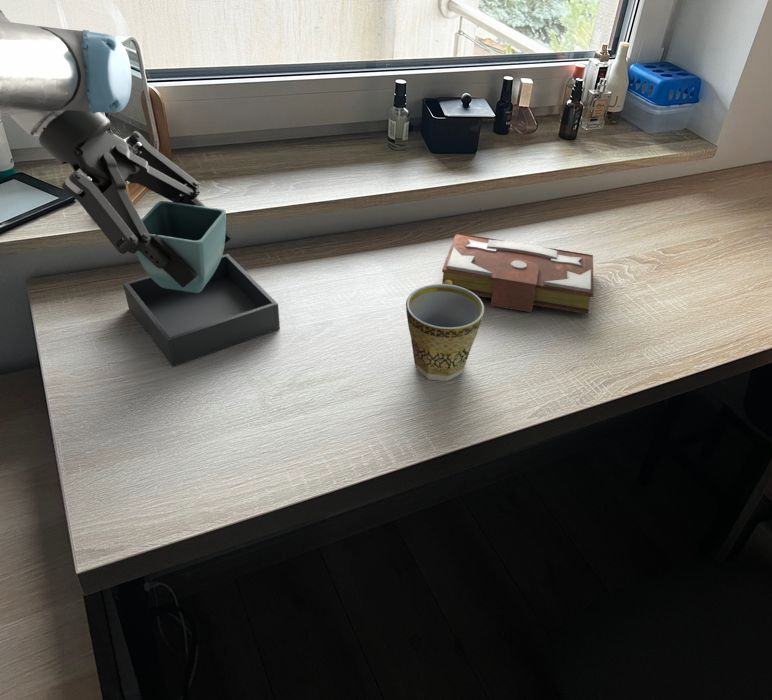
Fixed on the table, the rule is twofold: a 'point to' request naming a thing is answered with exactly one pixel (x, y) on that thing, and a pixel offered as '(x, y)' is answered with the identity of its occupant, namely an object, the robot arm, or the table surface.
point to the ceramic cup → (442, 328)
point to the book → (520, 274)
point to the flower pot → (186, 240)
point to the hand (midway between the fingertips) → (208, 261)
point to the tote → (203, 313)
